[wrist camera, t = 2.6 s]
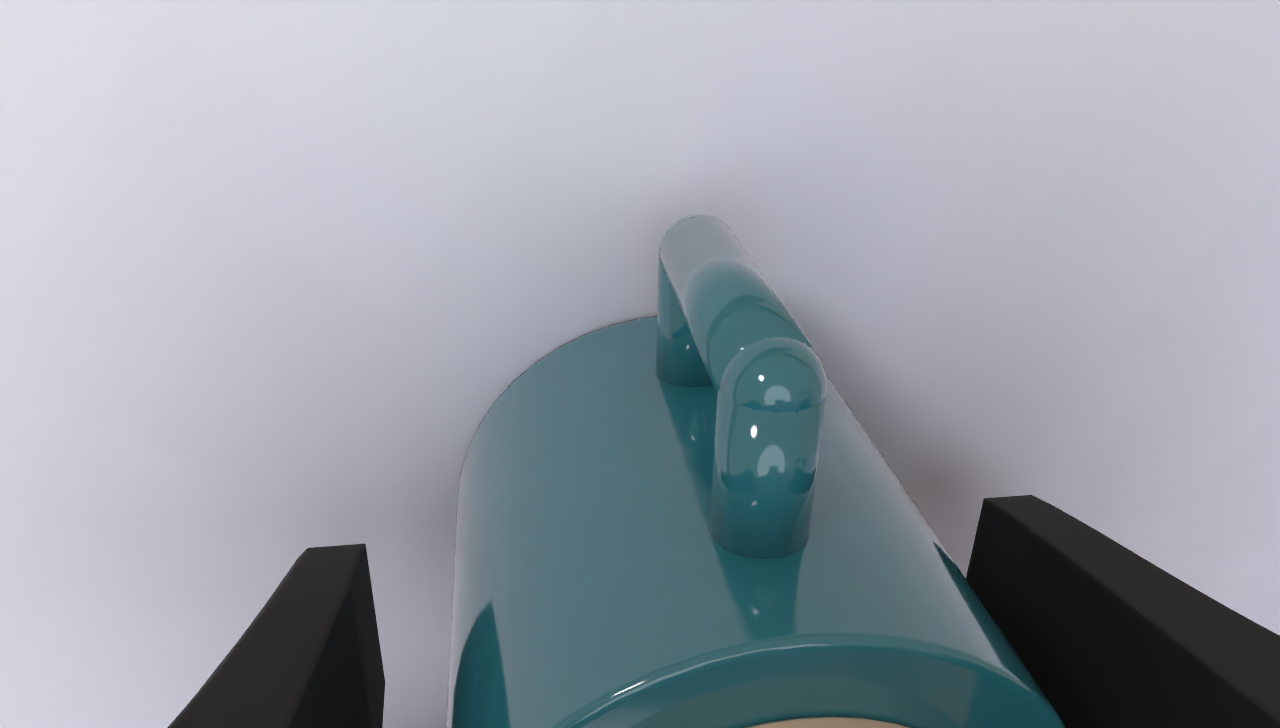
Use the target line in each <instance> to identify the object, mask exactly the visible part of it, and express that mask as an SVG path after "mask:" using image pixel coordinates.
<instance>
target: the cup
mask: <svg viewBox="0 0 1280 728" xmlns="http://www.w3.org/2000/svg"><path fill="white" fill-rule="evenodd" d="M446 728H1066V727H1065V725H1064V724H1063V722H1062V721H1061V719H1060V717H1059V716H1058V714H1057V712H1056V711H1055V709H1054V708H1053V706H1052V705H1051V704H1050V702H1049V701H1048V699H1047V698H1046V696H1045V695H1044V693H1043V692H1042V690H1041V689H1040V687H1039V686H1038V684H1037V683H1036V681H1035V680H1034V679H1033V677H1032V676H1031V674H1030V673H1029V671H1028V670H1027V668H1026V667H1025V665H1024V664H1023V662H1022V661H1021V659H1020V658H1019V657H1018V655H1017V654H1016V652H1015V651H1014V649H1013V648H1012V646H1011V645H1010V643H1009V642H1008V640H1007V639H1006V637H1005V636H1004V635H1003V633H1002V632H1001V630H1000V629H999V627H998V626H997V624H996V623H995V621H994V620H993V618H992V617H991V615H990V614H989V613H988V611H987V610H986V608H985V607H984V605H983V604H982V602H981V601H980V599H979V598H978V596H977V595H976V593H975V592H974V590H973V589H972V588H971V586H970V585H969V583H968V582H967V580H966V579H965V577H964V576H963V574H962V573H961V571H960V570H959V568H958V567H957V566H956V564H955V563H954V561H953V560H952V558H951V557H950V555H949V554H948V552H947V551H946V549H945V548H944V546H943V545H942V544H941V542H940V541H939V539H938V538H937V536H936V535H935V533H934V532H933V530H932V529H931V527H930V526H929V524H928V523H927V522H926V520H925V519H924V517H923V516H922V514H921V513H920V511H919V510H918V508H917V507H916V505H915V504H914V502H913V501H912V499H911V498H910V497H909V495H908V494H907V492H906V491H905V489H904V488H903V486H902V485H901V483H900V482H899V480H898V479H897V477H896V476H895V475H894V473H893V472H892V470H891V469H890V467H889V466H888V464H887V463H886V461H885V460H884V458H883V457H882V455H881V454H880V453H879V451H878V450H877V448H876V447H875V445H874V444H873V442H872V441H871V439H870V438H869V436H868V435H867V433H866V432H865V431H864V429H863V428H862V426H861V425H860V423H859V422H858V420H857V419H856V417H855V416H854V414H853V413H852V411H851V410H850V408H849V407H848V406H847V404H846V403H845V401H844V400H843V398H842V397H841V395H840V394H839V392H838V391H837V389H836V388H835V386H834V385H833V384H832V382H831V381H830V380H829V379H828V378H827V377H826V375H825V370H824V368H823V366H822V363H821V361H820V359H819V357H818V356H817V354H816V353H815V351H814V350H813V348H812V347H811V345H810V344H809V343H808V341H807V340H806V338H805V337H804V335H803V334H802V332H801V331H800V329H799V328H798V327H797V325H796V324H795V322H794V321H793V319H792V318H791V316H790V315H789V314H788V312H787V311H786V309H785V308H784V306H783V305H782V303H781V302H780V300H779V299H778V298H777V296H776V295H775V293H774V292H773V290H772V289H771V287H770V286H769V285H768V283H767V282H766V280H765V279H764V277H763V276H762V274H761V273H760V271H759V270H758V269H757V267H756V266H755V264H754V263H753V261H752V260H751V258H750V257H749V256H748V254H747V253H746V251H745V250H744V248H743V247H742V245H741V244H740V242H739V241H738V240H737V238H736V237H735V235H734V234H733V232H732V231H731V230H730V228H729V227H728V226H727V225H726V224H724V223H723V222H722V221H721V220H719V219H717V218H715V217H712V216H709V215H704V214H694V215H689V216H686V217H683V218H681V219H680V220H678V221H676V222H675V223H674V224H673V225H671V227H670V228H669V229H668V230H667V231H666V233H665V235H664V236H663V239H662V242H661V245H660V251H659V277H658V312H657V317H649V318H640V319H636V320H631V321H627V322H623V323H618V324H614V325H611V326H608V327H605V328H602V329H599V330H596V331H594V332H591V333H588V334H585V335H583V336H581V337H579V338H577V339H575V340H573V341H571V342H569V343H567V344H565V345H563V346H561V347H559V348H558V349H556V350H555V351H553V352H552V353H550V354H548V355H547V356H545V357H544V358H542V359H541V360H539V361H538V362H536V363H535V364H534V365H533V366H531V367H530V368H529V369H528V370H527V371H526V372H524V373H523V374H522V375H521V376H520V377H518V378H517V379H516V380H515V381H514V382H513V383H512V384H511V385H510V386H509V387H508V388H507V389H506V391H505V392H504V393H503V394H502V395H501V396H500V397H499V398H498V399H497V400H496V402H495V403H494V404H493V406H492V407H491V409H490V410H489V412H488V413H487V415H486V416H485V418H484V419H483V420H482V422H481V423H480V425H479V428H478V430H477V432H476V434H475V436H474V438H473V440H472V442H471V444H470V446H469V449H468V452H467V455H466V458H465V461H464V464H463V467H462V472H461V478H460V485H459V491H458V509H457V528H456V547H455V567H454V586H453V605H452V625H451V644H450V663H449V683H448V702H447V721H446Z"/></svg>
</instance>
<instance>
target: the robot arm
mask: <svg viewBox="0 0 1280 728" xmlns="http://www.w3.org/2000/svg"><path fill="white" fill-rule="evenodd" d="M966 580H967V582H968V583H969V585H970V586H971V588H972V589H973V590H974V592H975V593H976V595H977V596H978V598H979V599H980V601H981V602H982V604H983V605H984V607H985V608H986V610H987V611H988V613H989V614H990V615H991V617H992V618H993V620H994V621H995V623H996V624H997V626H998V627H999V629H1000V630H1001V632H1002V633H1003V635H1004V636H1005V637H1006V639H1007V640H1008V642H1009V643H1010V645H1011V646H1012V648H1013V649H1014V651H1015V652H1016V654H1017V655H1018V657H1019V658H1020V659H1021V661H1022V662H1023V664H1024V665H1025V667H1026V668H1027V670H1028V671H1029V673H1030V674H1031V676H1032V677H1033V679H1034V680H1035V681H1036V683H1037V684H1038V686H1039V687H1040V689H1041V690H1042V692H1043V693H1044V695H1045V696H1046V698H1047V699H1048V701H1049V702H1050V704H1051V705H1052V706H1053V708H1054V709H1055V711H1056V712H1057V714H1058V716H1059V717H1060V719H1061V721H1062V722H1063V724H1064V725H1065V727H1066V728H1280V636H1279V635H1277V634H1275V633H1273V632H1272V631H1270V630H1268V629H1266V628H1264V627H1262V626H1260V625H1258V624H1256V623H1255V622H1253V621H1251V620H1249V619H1247V618H1246V617H1244V616H1242V615H1240V614H1238V613H1237V612H1235V611H1233V610H1231V609H1230V608H1228V607H1226V606H1224V605H1222V604H1221V603H1219V602H1217V601H1215V600H1214V599H1212V598H1210V597H1208V596H1207V595H1205V594H1203V593H1201V592H1200V591H1198V590H1196V589H1194V588H1193V587H1191V586H1189V585H1188V584H1186V583H1184V582H1182V581H1181V580H1179V579H1177V578H1176V577H1174V576H1172V575H1170V574H1169V573H1167V572H1165V571H1164V570H1162V569H1160V568H1159V567H1157V566H1155V565H1154V564H1152V563H1150V562H1148V561H1147V560H1145V559H1143V558H1142V557H1140V556H1138V555H1137V554H1135V553H1133V552H1132V551H1130V550H1128V549H1127V548H1125V547H1123V546H1122V545H1120V544H1118V543H1117V542H1115V541H1113V540H1112V539H1110V538H1108V537H1106V536H1105V535H1103V534H1101V533H1100V532H1098V531H1096V530H1095V529H1093V528H1091V527H1089V526H1088V525H1086V524H1084V523H1083V522H1081V521H1079V520H1077V519H1076V518H1074V517H1072V516H1070V515H1069V514H1067V513H1065V512H1063V511H1061V510H1060V509H1058V508H1056V507H1054V506H1052V505H1050V504H1048V503H1046V502H1044V501H1043V500H1041V499H1039V498H1037V497H1035V496H1032V495H1025V496H1011V497H998V498H984V500H983V505H982V509H981V514H980V518H979V523H978V527H977V532H976V536H975V541H974V545H973V549H972V554H971V558H970V563H969V567H968V572H967V576H966ZM384 691H385V678H384V671H383V664H382V657H381V650H380V643H379V636H378V629H377V622H376V615H375V608H374V601H373V594H372V587H371V580H370V573H369V566H368V559H367V552H366V545H365V544H356V545H342V546H329V547H315V548H307V549H306V550H305V551H304V552H303V553H302V554H301V555H300V556H299V557H298V559H297V560H296V562H295V563H294V565H293V566H292V567H291V569H290V570H289V572H288V573H287V575H286V576H285V578H284V579H283V580H282V582H281V583H280V585H279V586H278V587H277V589H276V590H275V592H274V593H273V595H272V596H271V597H270V599H269V600H268V602H267V603H266V604H265V606H264V607H263V608H262V610H261V611H260V613H259V614H258V615H257V617H256V618H255V619H254V621H253V622H252V623H251V625H250V626H249V627H248V629H247V630H246V631H245V633H244V634H243V635H242V637H241V638H240V639H239V641H238V642H237V643H236V645H235V646H234V647H233V648H232V650H231V651H230V652H229V653H228V655H227V656H226V657H225V659H224V660H223V661H222V662H221V664H220V665H219V666H218V667H217V669H216V670H215V671H214V673H213V674H212V675H211V676H210V678H209V679H208V680H207V681H206V683H205V684H204V685H203V686H202V688H201V689H200V690H199V692H198V693H197V694H196V695H195V696H194V698H193V699H192V700H191V701H190V702H189V704H188V705H187V706H186V707H185V708H184V710H183V711H182V712H181V713H180V714H179V715H178V716H177V718H176V719H175V720H174V721H173V722H172V723H171V724H170V726H169V727H168V728H382V723H383V707H384Z"/></svg>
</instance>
